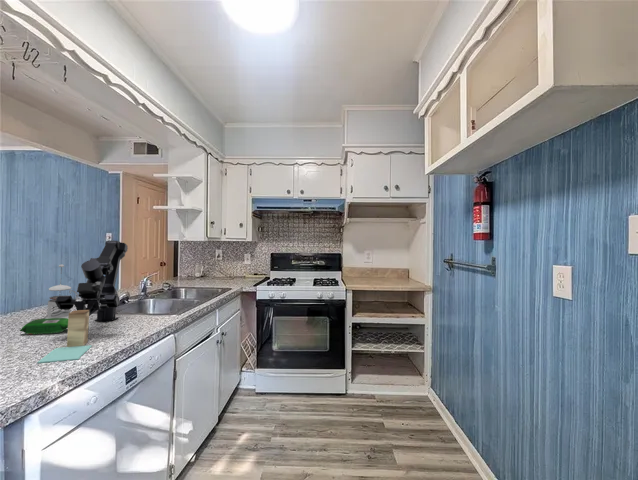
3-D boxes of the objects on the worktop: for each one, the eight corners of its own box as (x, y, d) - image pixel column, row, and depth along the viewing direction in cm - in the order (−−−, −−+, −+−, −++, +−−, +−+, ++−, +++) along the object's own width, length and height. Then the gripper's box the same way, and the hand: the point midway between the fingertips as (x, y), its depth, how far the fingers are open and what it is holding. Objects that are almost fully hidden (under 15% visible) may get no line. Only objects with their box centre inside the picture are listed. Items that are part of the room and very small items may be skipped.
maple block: (72, 343, 103) (74, 310, 103) (87, 342, 104) (89, 309, 104) (66, 347, 98) (68, 313, 98) (82, 346, 100) (84, 312, 100)
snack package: (68, 334, 112) (68, 321, 112) (17, 336, 107) (18, 322, 107) (77, 329, 119) (77, 316, 119) (30, 330, 114) (31, 317, 114)
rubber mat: (56, 349, 97) (56, 347, 97) (91, 346, 101) (91, 345, 101) (37, 363, 86) (37, 362, 86) (78, 359, 90) (78, 358, 90)
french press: (40, 317, 131) (43, 263, 131) (72, 313, 141) (75, 263, 141) (48, 321, 125) (51, 265, 126) (80, 316, 135) (83, 264, 136)
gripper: (58, 274, 106) (41, 310, 95) (118, 274, 113) (108, 308, 102) (66, 291, 113) (51, 327, 102) (122, 290, 120) (113, 324, 110)
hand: (81, 321), depth 104 cm, fingers closed
